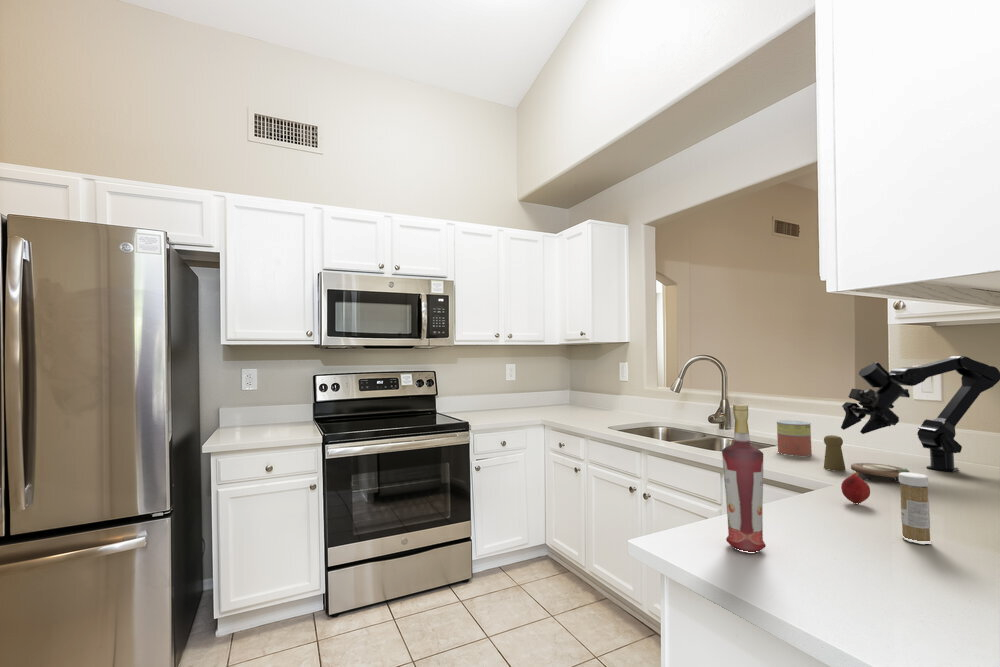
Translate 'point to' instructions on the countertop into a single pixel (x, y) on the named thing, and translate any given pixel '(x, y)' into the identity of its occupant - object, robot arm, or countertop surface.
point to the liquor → (743, 487)
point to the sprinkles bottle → (915, 506)
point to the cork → (834, 453)
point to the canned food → (794, 438)
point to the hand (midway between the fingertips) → (851, 430)
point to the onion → (855, 488)
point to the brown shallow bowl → (877, 470)
